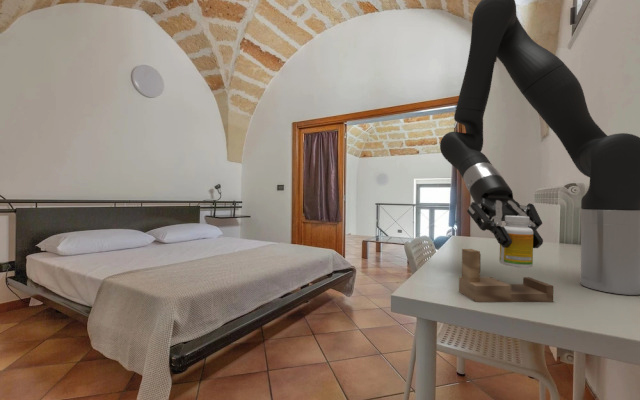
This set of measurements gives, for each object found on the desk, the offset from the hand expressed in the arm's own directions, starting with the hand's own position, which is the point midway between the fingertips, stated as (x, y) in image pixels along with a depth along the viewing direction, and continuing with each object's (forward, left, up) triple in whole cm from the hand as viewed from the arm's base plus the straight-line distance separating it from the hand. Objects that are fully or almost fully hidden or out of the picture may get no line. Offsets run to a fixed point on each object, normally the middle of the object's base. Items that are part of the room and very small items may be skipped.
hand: (523, 245), depth 53 cm
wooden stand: (+3, -2, -10) cm, 11 cm away
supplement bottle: (0, -2, -4) cm, 5 cm away
